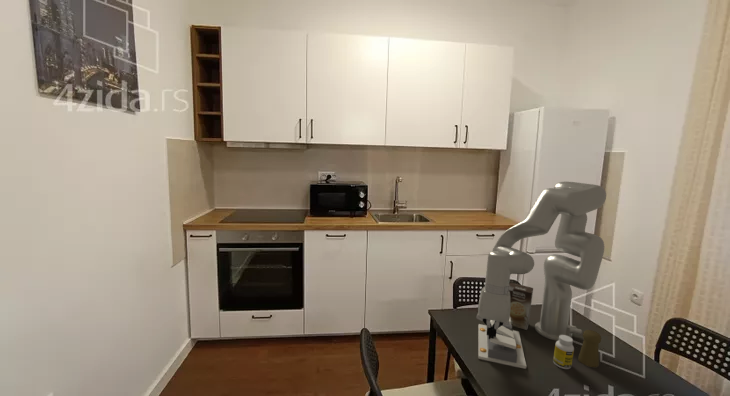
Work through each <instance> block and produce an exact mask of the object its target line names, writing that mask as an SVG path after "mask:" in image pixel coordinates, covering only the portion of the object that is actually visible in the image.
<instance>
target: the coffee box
mask: <svg viewBox="0 0 730 396" xmlns="http://www.w3.org/2000/svg"><path fill="white" fill-rule="evenodd" d="M509 285H510V286H511V287H513V291H509V292H510V302H511V306H510V319H511V324H512V327H515V328H518V329H522V330H526V331H528V328H529V324H530V317H531V310H532V301H533V293H534V287H531V286H526V285H522V284H519V283H515V282H510V281H509Z"/></svg>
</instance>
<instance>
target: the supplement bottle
mask: <svg viewBox="0 0 730 396" xmlns="http://www.w3.org/2000/svg"><path fill="white" fill-rule="evenodd" d="M573 342H574V339H573V338H572V336H571V337H569V336H566V335H560V336H559V341H555V346H554V352H553V359H552V362H553V364H554V365H555V366H557V367H559V368H560V369H564V370H569V369H571V368H572V365H573V359H574V352H575V347H574V345H573Z"/></svg>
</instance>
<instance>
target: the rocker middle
mask: <svg viewBox="0 0 730 396" xmlns="http://www.w3.org/2000/svg"><path fill="white" fill-rule="evenodd" d="M494 322H495V321H493V320H492V322H491V325H492V326H493V324H494ZM496 332H498V333H500V335H503V336H506V337H509V338H513V339H514V334H513V331H511V330H509V329H507V328H505V327H504V326H501V327H499V328H498V329H497V331H496Z"/></svg>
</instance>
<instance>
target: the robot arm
mask: <svg viewBox="0 0 730 396" xmlns="http://www.w3.org/2000/svg"><path fill="white" fill-rule="evenodd" d="M606 199H607V191H606V190H605V188H604V187H603V186H601V185H598V184H592V183H584V182H574V181H559V182H557V183H556V184H555V185H554V187H553V188H552V187H551V188H550V187H549V188H544V190H542V191H541V193H539V195H538V197H537V199H536V200H535V202H534V204H533V205H532V207H531V209H530V210H529V211H528V213H527V215H526V217H525V218H524V220H522V221H520V222H519V223H517V224H514V225H513V226H511V227H510V228H508V229H507V230H505V231H504V232H503V233H502V234H501V235H500V236H499V238H498V239H497V241H496V242H495V245H494V246H493V248H492V251H490V252H488V255H487V262H486V270H485V281H484V282H485V283H484V286H483V287H482V288H481V290H480V294H479V301H478V307H477V311H478V312H477V314H476V320H479V321H481V322H483V323H484V325H486V326H487V335H488V337H489V339H491V338H492V339H494V337H496V331H497V329H498V328H499V327H501V326H502V325H510V322H509V319H510V306H511V302H510V292H509V291H513V287H511V286H510V285H509V284H510V280H511V275H525V274H528V273H531V272H532V270H533V269H534V267H535V260H534V258H533V257H532V255H531V254H529V253H527V252H525V251H522V250H518V249H516V248H513V246H514V245H515V244H516V243H517V242H519V241H520V240H523V239H526V238H531V237H538V236H544V235H546V234H548V233H549V231H550V230H551V228H552V227H553V225H554V223H555V222H556V219H557V218H558V216H559V215H560V220H559V223H558V224H559V225H558V228H557V231H556V234H555V240H554V245H555V246H554V247H555V248H556V250H558V251H560V252H562V253H565V254H567V255H568V254H569V255H571V256H574V257H577V258H580V261H579V260H578V259H574V258H571V257H568V256H565V255H561V254H550V255H548V256H547V257H546V258H545V260H544V262H543V275H544V276H543V277H544V283H543V284H544V285H543V294H542V301H541V302H542V303H541V309H540V319H539V321H537V322H536V323H535V324H534V329H535V331H536V332H537V333H538V334H539V335H541V336H542V337H544V338H546V339H549V340H552V341H555V342H557V341H559V336H560V335H566V336H569V337H571V338H572V334H575V335H583V330H582V329H580V328H577V325H570V324H569V320H570V313H571V304H572V298H573V291H572V287H574V288H578V289H579V290H583V291H587V290H588V291H589V290H590V289H592V288H593V286H595V284H596V281H597V279H598V275H599V271H600V268H601V264H602V261H603V257H604V253H605V242H604V240H603V238H602V237H601V236H599V235H597V234H594V233H590V232H586V226H587V223H588V222H587V221H588V215H587V213H590V212H593V211H596V210H598V209H600V208H601V207H603V205H604V204H605V202H606ZM571 286H572V287H571ZM490 320H493V321H495V322H494V324H493V326H492V325H491V323H490Z"/></svg>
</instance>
